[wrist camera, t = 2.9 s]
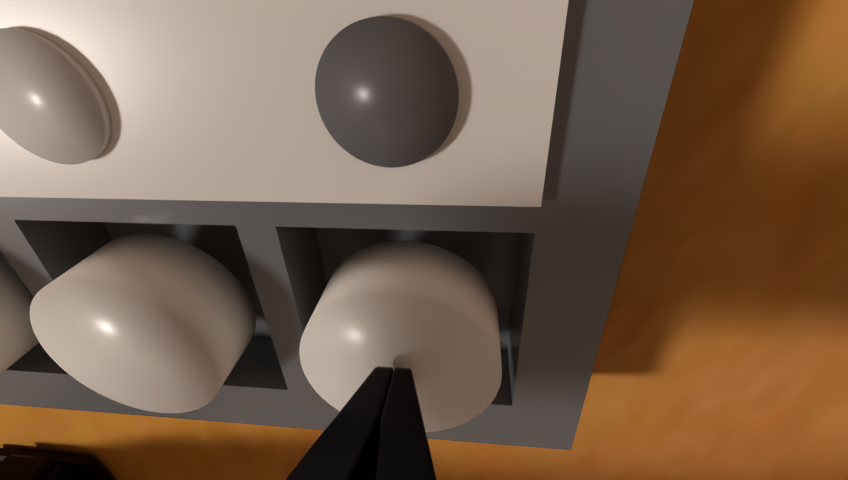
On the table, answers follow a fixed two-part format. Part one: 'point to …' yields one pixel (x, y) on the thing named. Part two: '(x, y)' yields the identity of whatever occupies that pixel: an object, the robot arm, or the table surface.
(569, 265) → the board
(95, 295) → the button
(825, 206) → the table surface
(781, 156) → the table surface
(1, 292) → the button
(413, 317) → the button
